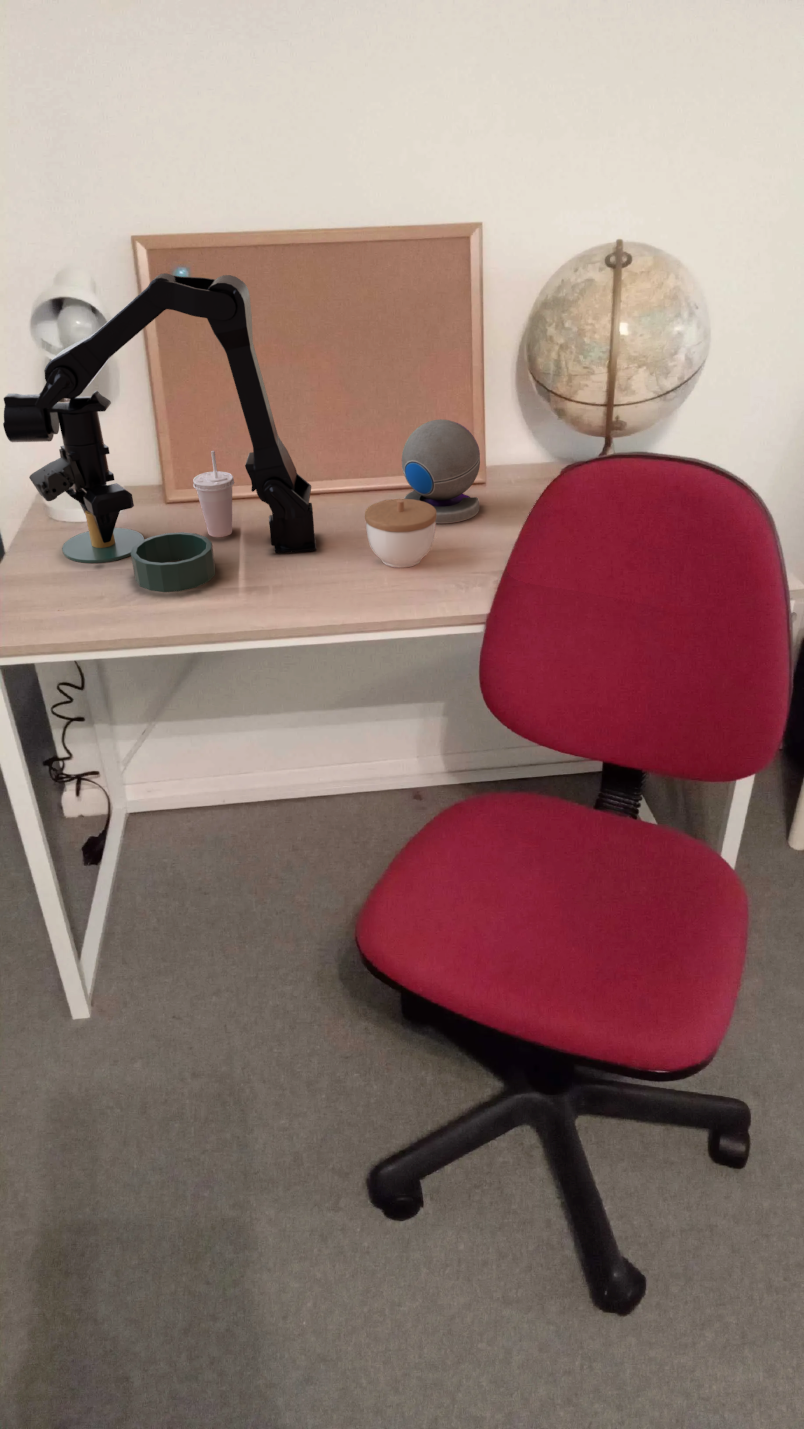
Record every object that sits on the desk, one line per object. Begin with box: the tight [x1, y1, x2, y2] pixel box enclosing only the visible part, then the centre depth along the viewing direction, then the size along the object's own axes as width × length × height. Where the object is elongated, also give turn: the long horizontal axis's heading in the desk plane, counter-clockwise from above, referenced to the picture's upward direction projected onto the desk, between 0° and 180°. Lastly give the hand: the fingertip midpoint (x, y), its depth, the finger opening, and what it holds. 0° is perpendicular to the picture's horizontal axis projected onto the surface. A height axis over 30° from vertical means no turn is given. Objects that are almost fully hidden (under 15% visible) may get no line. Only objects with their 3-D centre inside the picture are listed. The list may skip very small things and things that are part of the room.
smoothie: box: [192, 450, 235, 538], centre depth 157 cm, size 6×6×14 cm
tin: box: [130, 531, 216, 593], centre depth 146 cm, size 12×12×5 cm
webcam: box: [401, 418, 481, 524], centre depth 164 cm, size 13×13×15 cm
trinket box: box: [364, 498, 437, 569], centre depth 149 cm, size 11×11×9 cm
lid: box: [61, 511, 145, 564], centre depth 155 cm, size 13×13×7 cm
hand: (102, 537), depth 156 cm, fingers closed on lid, 3 cm apart
